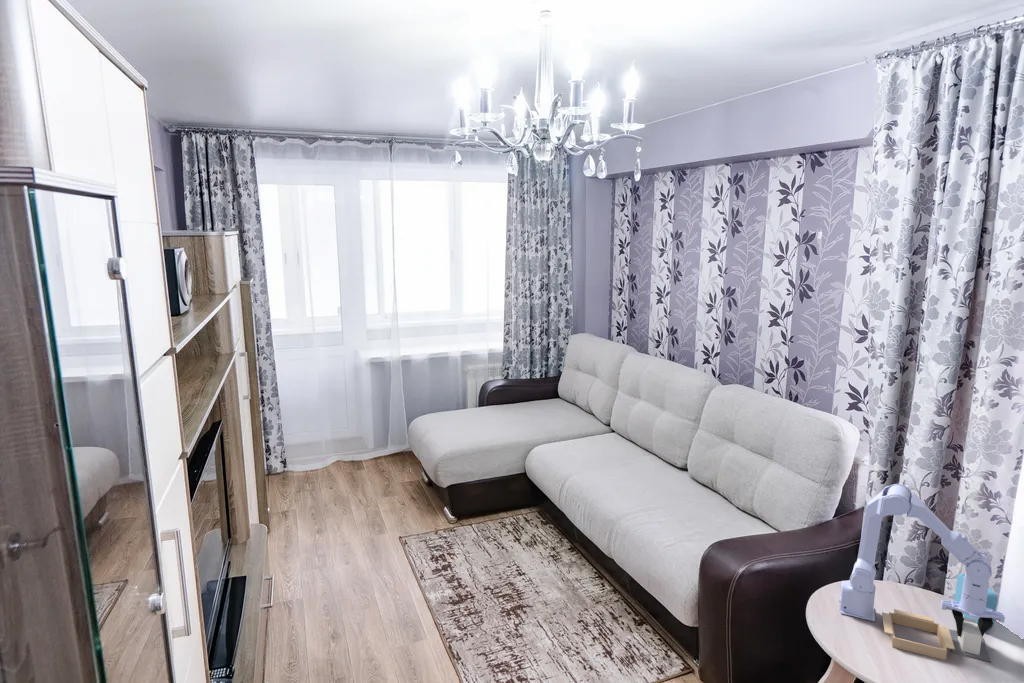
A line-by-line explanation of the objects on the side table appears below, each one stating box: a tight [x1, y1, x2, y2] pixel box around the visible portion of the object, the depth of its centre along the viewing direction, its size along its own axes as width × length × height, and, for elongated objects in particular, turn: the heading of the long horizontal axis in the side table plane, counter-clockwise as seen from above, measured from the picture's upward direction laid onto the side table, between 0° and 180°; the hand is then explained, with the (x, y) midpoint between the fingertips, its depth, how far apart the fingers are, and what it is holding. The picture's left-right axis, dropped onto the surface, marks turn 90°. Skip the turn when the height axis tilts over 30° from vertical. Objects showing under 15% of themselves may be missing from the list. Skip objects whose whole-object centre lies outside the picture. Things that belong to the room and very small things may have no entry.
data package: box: [953, 573, 998, 630], centre depth 186 cm, size 12×4×12 cm, turn 173°
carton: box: [881, 608, 955, 661], centre depth 178 cm, size 17×15×3 cm
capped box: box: [957, 616, 983, 655], centre depth 174 cm, size 4×8×6 cm, turn 153°
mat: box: [949, 629, 992, 663], centre depth 175 cm, size 9×11×1 cm
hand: (968, 636), depth 175 cm, fingers closed on capped box, 4 cm apart
